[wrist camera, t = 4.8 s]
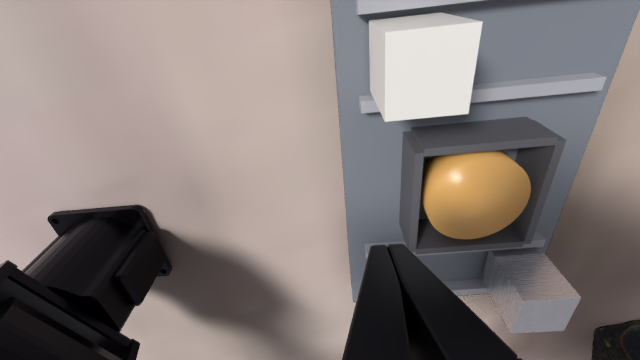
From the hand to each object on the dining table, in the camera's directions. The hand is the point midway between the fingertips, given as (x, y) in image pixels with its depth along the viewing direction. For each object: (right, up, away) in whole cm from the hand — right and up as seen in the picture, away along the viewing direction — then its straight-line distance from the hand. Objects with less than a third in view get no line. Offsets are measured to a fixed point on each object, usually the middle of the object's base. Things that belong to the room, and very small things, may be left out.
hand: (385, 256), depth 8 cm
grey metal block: (+11, -4, +13) cm, 17 cm away
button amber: (+6, +2, +9) cm, 11 cm away
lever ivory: (+2, +8, +6) cm, 10 cm away
